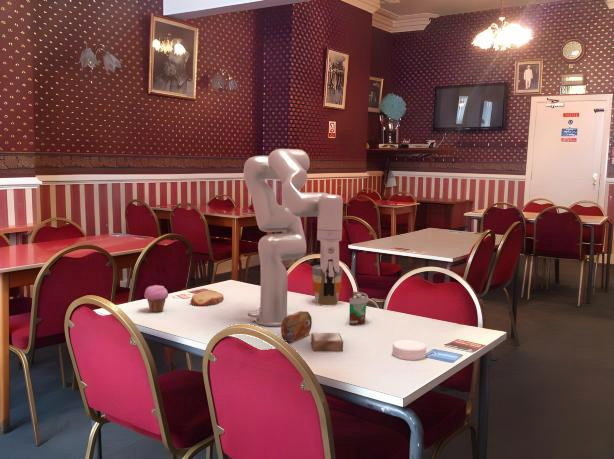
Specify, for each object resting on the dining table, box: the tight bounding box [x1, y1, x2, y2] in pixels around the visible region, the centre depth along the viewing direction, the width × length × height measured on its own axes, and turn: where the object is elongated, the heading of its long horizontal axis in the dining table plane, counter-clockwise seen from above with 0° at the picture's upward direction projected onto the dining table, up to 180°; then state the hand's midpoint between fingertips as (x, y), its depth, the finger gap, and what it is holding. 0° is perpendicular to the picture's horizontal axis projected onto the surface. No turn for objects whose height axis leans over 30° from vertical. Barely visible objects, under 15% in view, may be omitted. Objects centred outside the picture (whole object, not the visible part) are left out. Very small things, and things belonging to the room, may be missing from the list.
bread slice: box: [190, 289, 224, 308], centre depth 242 cm, size 18×18×4 cm
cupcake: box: [144, 284, 169, 313], centre depth 223 cm, size 9×9×10 cm
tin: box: [280, 310, 313, 343], centre depth 191 cm, size 15×3×8 cm, turn 148°
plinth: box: [310, 332, 344, 352], centre depth 183 cm, size 9×9×3 cm
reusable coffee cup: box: [311, 264, 343, 306], centre depth 241 cm, size 13×13×15 cm
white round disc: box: [392, 339, 427, 361], centre depth 177 cm, size 10×10×4 cm
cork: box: [318, 269, 338, 306], centre depth 181 cm, size 6×6×11 cm
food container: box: [348, 291, 369, 326], centre depth 212 cm, size 12×6×10 cm, turn 168°
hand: (327, 293), depth 181 cm, fingers closed on cork, 4 cm apart
